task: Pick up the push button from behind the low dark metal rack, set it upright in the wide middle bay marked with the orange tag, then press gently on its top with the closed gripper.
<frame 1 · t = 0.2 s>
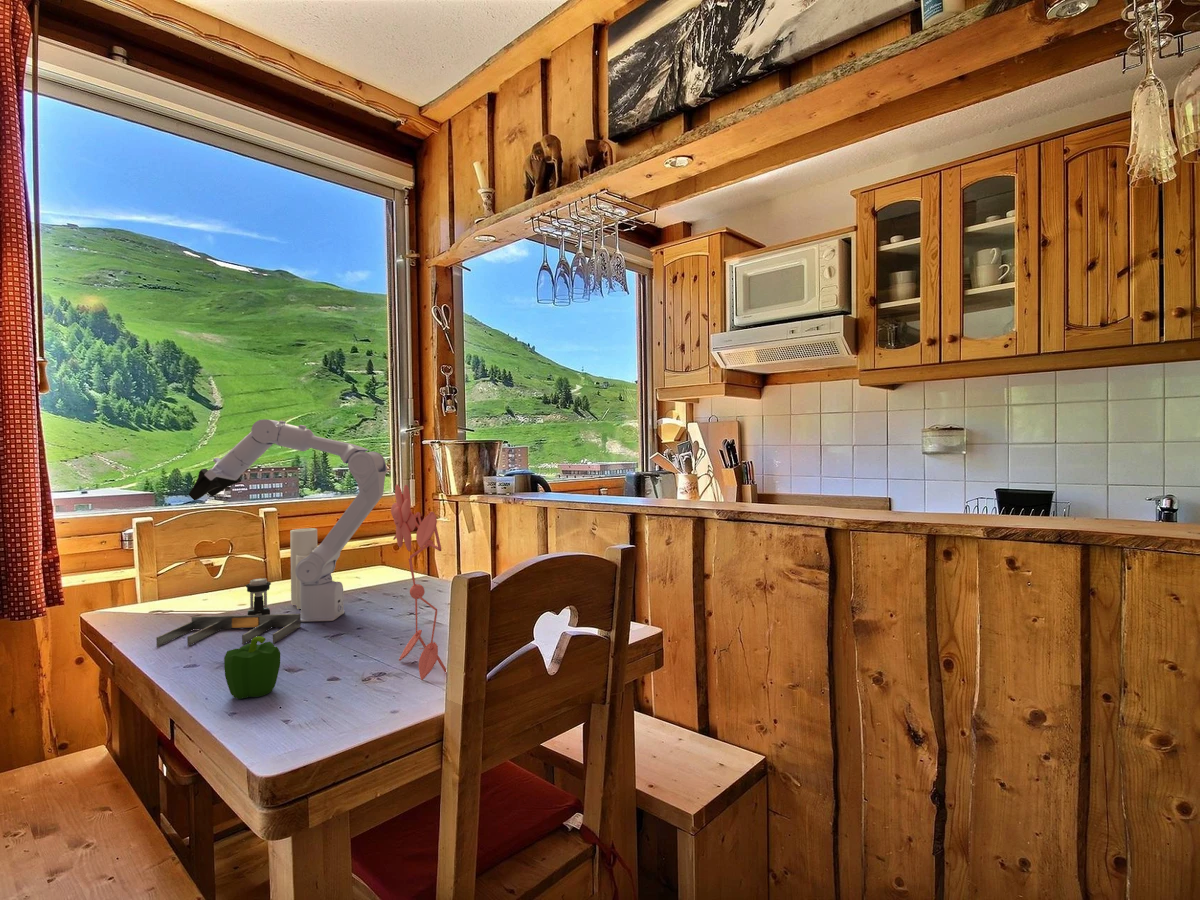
hand: (200, 495, 149), 31 cm above the table, tool tilted 45°, fingers open, 7 cm apart
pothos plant: (403, 673, 112), on the table
rack: (231, 636, 136), on the table
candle: (308, 605, 164), on the table
push button: (255, 621, 149), on the table
bell pepper: (253, 695, 103), on the table
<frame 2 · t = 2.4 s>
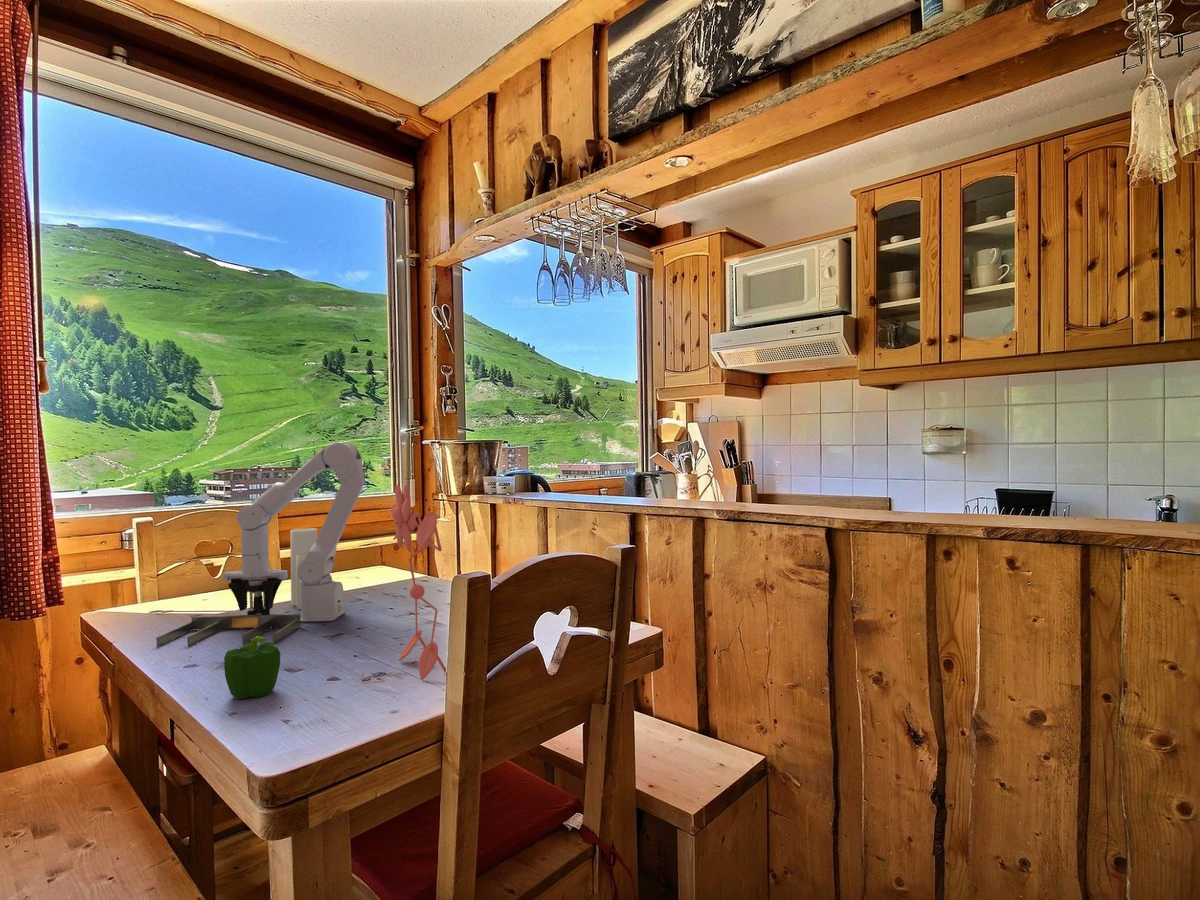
hand: (256, 609, 149), 3 cm above the table, tool pointing down, fingers open, 5 cm apart
push button: (255, 621, 149), on the table, touching gripper
everything else where it was.
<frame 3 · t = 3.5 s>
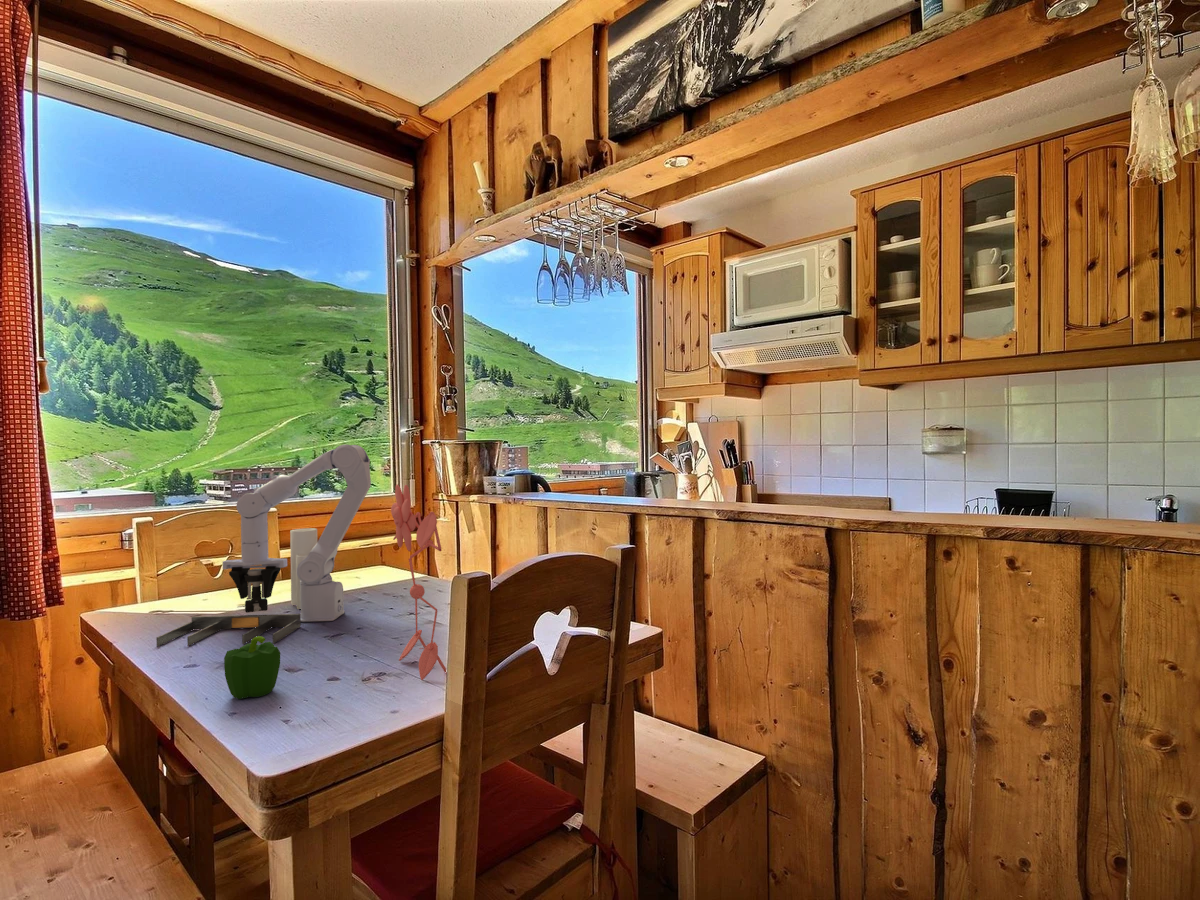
hand: (255, 597, 149), 6 cm above the table, tool pointing down, fingers closed on push button, 5 cm apart
push button: (253, 611, 149), point 2 cm above the table, touching gripper
everything else where it was.
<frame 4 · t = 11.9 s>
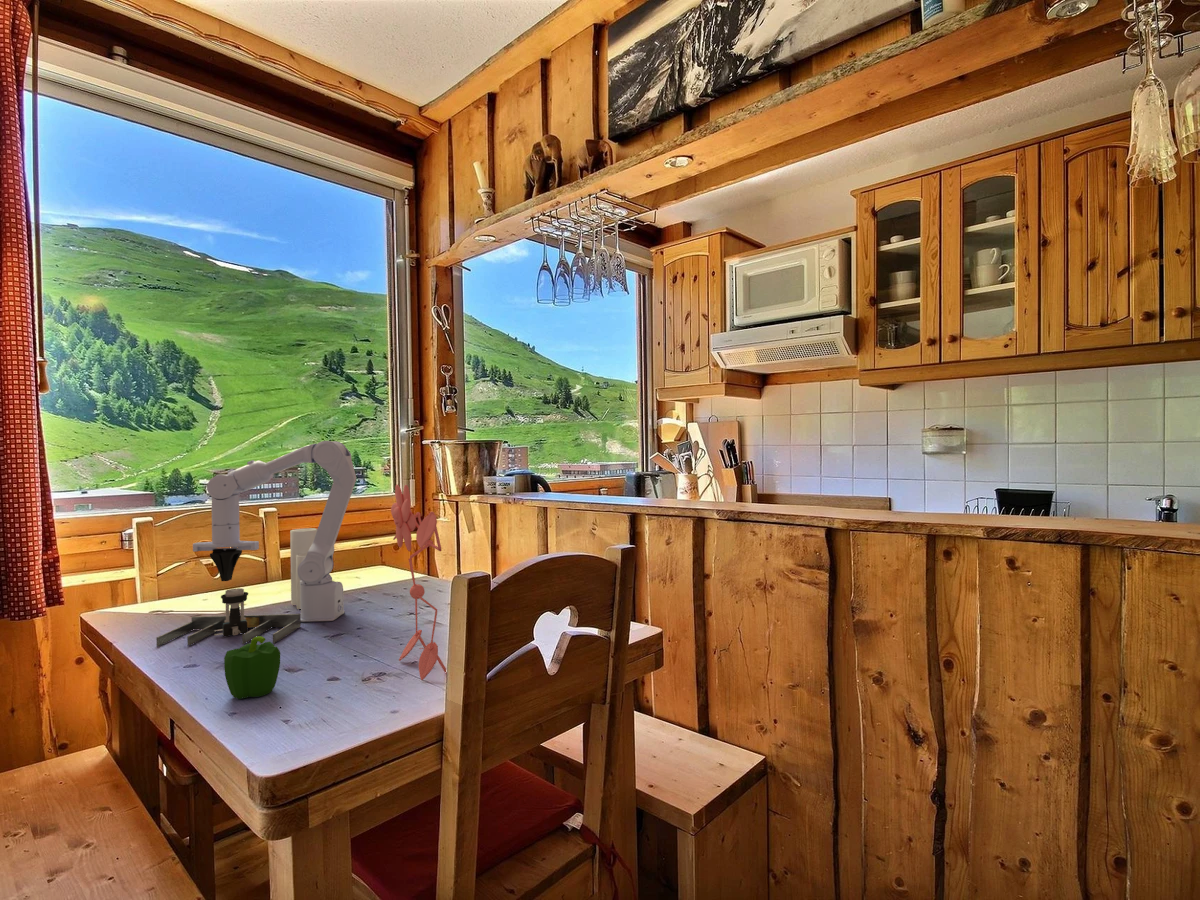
hand: (226, 580, 147), 10 cm above the table, tool pointing down, fingers closed
push button: (231, 635, 138), resting in rack
everything else where it was.
at the end: push button inside the target area on the rack (1.7 cm from its centre), point 0.0 cm above the rack's base; push button tilted 0°; the gripper is holding nothing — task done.
